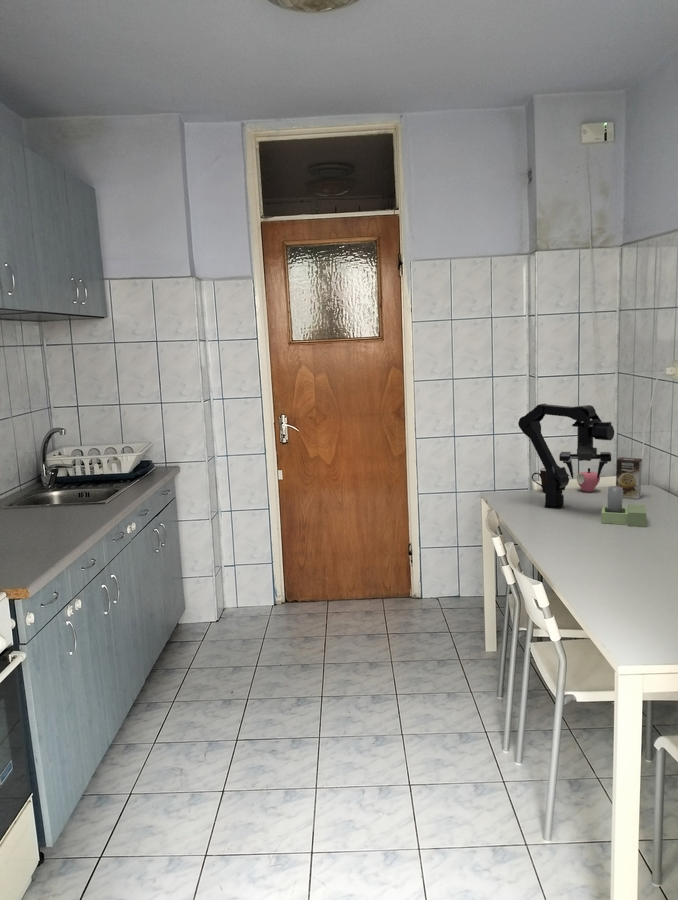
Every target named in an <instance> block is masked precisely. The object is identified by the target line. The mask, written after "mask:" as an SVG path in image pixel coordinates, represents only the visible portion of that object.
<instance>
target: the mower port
mask: <svg viewBox="0 0 678 900" xmlns="http://www.w3.org/2000/svg"><path fill="white" fill-rule="evenodd" d="M600 521H601V524H604V523H612V524H611V525H622V524H628V525H627V526H628V527H642V528H646V527H647V507H646V504H627V507H622V513H611V512H608V506H602V507H601V520H600ZM613 523H614V524H613Z"/></svg>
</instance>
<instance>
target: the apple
mask: <svg viewBox="0 0 678 900" xmlns="http://www.w3.org/2000/svg"><path fill="white" fill-rule="evenodd" d="M597 474H598V472H595V471H591V467H589V468H587V471H584V472H579V473H578V474H577V475H576V481H577V484H578V485H579V487H580V489H581V491H583V492H584V493H590V492H591V493H592V492H594V491H595V489H596V487H597V486H598V484H599V483H600V479H601V477H600V476H599V479H597Z"/></svg>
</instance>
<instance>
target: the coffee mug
mask: <svg viewBox="0 0 678 900" xmlns="http://www.w3.org/2000/svg"><path fill="white" fill-rule="evenodd" d="M539 472H540V473H539ZM539 472H534V473H532V474H531V479H532V481H533V482H534V483H535V484H537V485H538V486H540V487H541V488H542V487H543V486H544V485H545V484H546V483H547V480H546V470H545V467H541V468H539ZM535 475H538V476H539V477H540V481H541V484H540V483H539V482H538V481H536V480H535V479H534V476H535ZM541 490H542V489H541ZM542 491H543V490H542Z"/></svg>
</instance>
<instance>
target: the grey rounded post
mask: <svg viewBox="0 0 678 900" xmlns="http://www.w3.org/2000/svg"><path fill="white" fill-rule="evenodd" d="M622 495H623V488H622V487H618V486H616V485H615V486H614V485H613V486H612V485H611V486H608V487H607V507H608V512H611V513H622V508H623V498H622Z"/></svg>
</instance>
